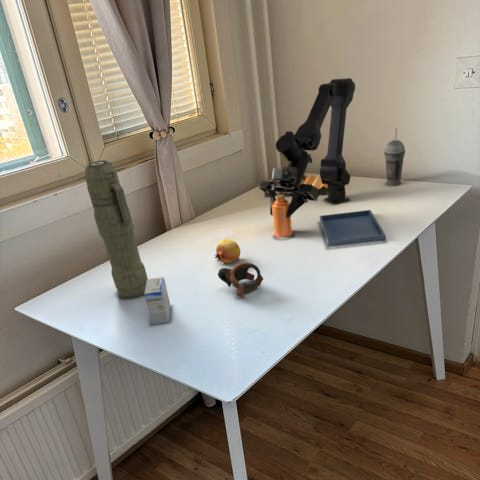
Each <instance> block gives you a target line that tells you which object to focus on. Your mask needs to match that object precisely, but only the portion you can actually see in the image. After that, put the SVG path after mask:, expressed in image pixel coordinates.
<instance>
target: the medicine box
mask: <svg viewBox="0 0 480 480" xmlns="http://www.w3.org/2000/svg"><path fill="white" fill-rule="evenodd" d="M143 296H144V301H145V305H146V308H147V312H148V316H149V319H150V323H151V325H160V324H166V323H170V318H171V317H170V316H171V312H170V311H171V303H170V297H169V293H168V289H167V284H166V280H165V278H164V277H162V276H161V277H154V278H148V280H147V281H146V287H145V292H144V294H143Z"/></svg>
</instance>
